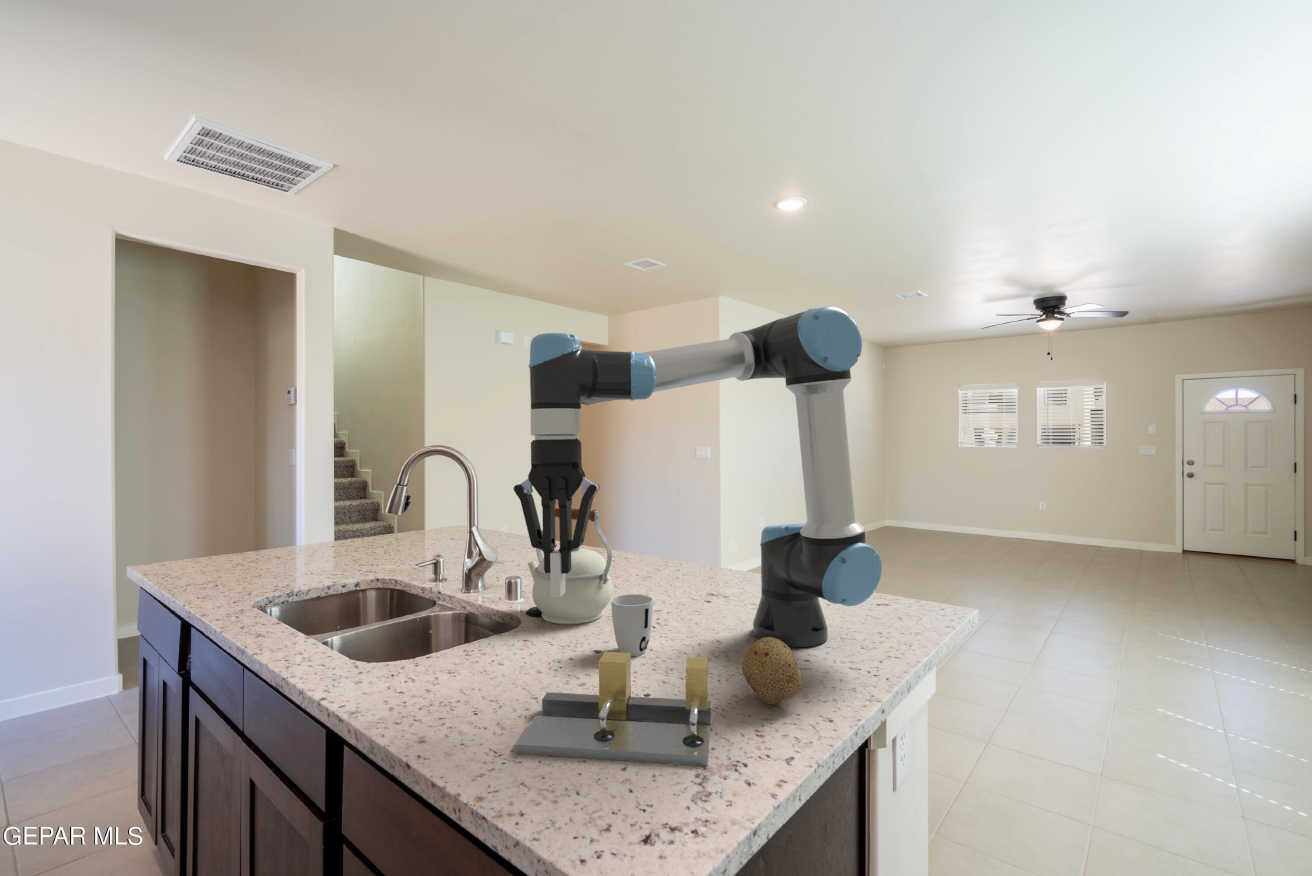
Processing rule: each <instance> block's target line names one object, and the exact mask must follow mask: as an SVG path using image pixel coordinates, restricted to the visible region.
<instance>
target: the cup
mask: <svg viewBox="0 0 1312 876" xmlns="http://www.w3.org/2000/svg"><path fill="white" fill-rule="evenodd" d="M610 602H611V603H610V605H611V615H612V616H611V618H612V626H613V627H612V628H613V630H614V638H615V642H616V644H617V647H618V652H622V653H631V657H638V656H639V657H640V656H641V655H645V653H646V651H647V648H648V644H649V642H650V638H651V637H650V636H651V632H652V625H653V615H654V611H653V609H654V598H653V597H652V596H650V595H645V594H635V593H634V594H633V593H632V594H631V593H630V594H622V595H616V596H614V597H611V599H610Z"/></svg>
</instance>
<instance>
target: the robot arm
mask: <svg viewBox="0 0 1312 876" xmlns="http://www.w3.org/2000/svg"><path fill="white" fill-rule="evenodd" d="M862 340H863V339H862V335H861V332H860V329H859V327H858V325H857V323H856V322H855V320H854V319H853V318H852V317H851V316H849V315H848V313H847V312H846V311H844V310H842V309H840V308H837V307H834V306H823V307H822V306H821V307H815V308H809V309H807V310H804V311H801V312H798V313H796V314H792V315H789V316H787V317H781V318H778V319H776V320H773V321H770V322H768V323H766V324H763V325H760V326H758V327H754V328H751V329H748V330H743V331H737V332H734V333H732V334H731V335H730V336H729V337H728V338H726V339H721V340H720V339H719V340H715V341H714V340H713V341H708V342H702V343H694V344H688V345H683V346H676V347H669V348H664V349H657V350H651V351H644V352H634V351H632V350H631V351H616V350H615V351H613V350H612V351H611V350H610V351H609V350H606V351H605V350H591V349H588V350H587V349H586V348H582V345H581V339H580V338H579V337H578V335H576V334H570V333H566V332H565V333H564V332H547V333H546V332H545V333H540V334H539V333H538V334H537V335H535V336H534V337H532V339H531V341H530V347H529V348H530V350H529V364H528V368H529V386H530V387H529V388H530V389H529V390H530V391H529V393H530V410H529V412H530V435H531V437H534V440H533V439H532V441H531V442H530V465H531V466H530V467H531V468H530V470H529V473H528V475H527V477H528V478H526V480H524V481H522V482H521V483H519V484H515V485H514V487H513V491H514V493H515V495H516V497H518V499H519V500H520V503H521V508H522V512H523V517H524V520H525V525H526V529H527V533H528V537H529V543H530V546H531V547H532V548H534V549H536V548H538V549H541V552H542V553H543V558H544V571H545V573H550V579H551V597H561V596H562V595H563V594H564V593H565V574H568V573H569V572H570V571H571V551H572V550H573V549H576V548H578V547H579V548H580V547H581V546H582V545H583V544H584V542H585V541H584V540H585V537H586V533H587V529H588V525H589V524H588V523H589V515H590V511H592V506H593V503H594V502H593V501H594V498H595V497H596V495H597V494H598V491H599V490H600V484H598V483H594V482H592V481H590V480H589V479H588V478H587V477H586V473H585V472H584V470H583V467H582V466H583V465H582V463H583V462H582V460H583V458H582V441H581V439H578V436H580V435H582V405H585V406H589V405H594V404H597V403H598V404H599V403H605V402H611V401H618V400H622V401H623V400H625V401H626V400H627V401H628V400H629V401H635V400H636V401H637V400H647V399H649V398H650V397H651V396H652V394H653V393H654V392H655V393H656V392H662V391H666V390H667V391H668V390H671V389H678V388H683V387H690V386H694V385H699V384H704V383H710V382H716V381H721V380H726V379H731V378H735V379H736V380H737V381H741V382H742V381H743V382H744V381H749V380H755V379H756V380H757V379H784V380H785V381H784V382H785V387H786V389H788V390H789V391H790V392H791V393H792V394H793V395H794V396H795V404H796V405H795V406H796V416H797V427H798V438H799V447H800V448H799V449H800V456H801V467H802V468H801V469H802V478H803V480H802V481H803V488H804V489H803V490H804V501H805V502H804V503H805V509H806V510H805V511H806V523H792V524H789V523H788V524H787V523H786V524H776V525H775V524H774V525H768V526H765V527H764V528H762V531H761V536H760V537H761V538H760V562H761V563H760V565H761V566H760V567H761V568H760V569H761V571H760V572H761V573H760V574H761V576H760V577H761V578H760V579H761V581H760V582H761V597H760V600H759V603H758V606H757V609H756V613H755V616H754V618H753V622H752V633H753V636H754V637H755V638H756V639H758V640H759V639H762V638H765V637H772V638H776V639H779V640H781V641H782V642H784V643H785V644H786V645H787V646H788V647H789V648H790V647H791V648H805V647H807V648H808V647H815V646H818V645H821V644H824V643H825V642H826V641H827V640H828V637H829V633H828V632H829V631H828V629H829V628H828V625H827V621H826V618H825V615H824V612H823V609H822V608H823V607H822V605H821V603H820V599H823V600H825V601H827V602H829V603H830V604H834V605H840V606H841V605H842V606H845V607H853V606H854V607H855V606H858V605H860V604H861V605H862V604H863V603H865V602H867V601H868V600H869V598H871V597H872V595H873V594H874V591H876V589H877V587H878V586H879V584H880V582H881V577H882V572H883V564H882V558H881V556H880V554H879V553H878V551H876V550H875V548H874V547H872V545H869V543H867V541H866V533H865V530H866V529H865V527H864V526H863V525H862V524H861V523H860V522H858V521H857V519H856V516H855V506H854V504H855V503H854V496H853V492H854V491H853V481H852V473H851V461H850V451H849V450H850V448H849V439H848V438H849V437H848V429H847V428H848V427H847V418H846V405H845V395H844V391H845V388H846V387H847V386H848V384H850V383H851V382H852V376H851V369H852V368H853V367H854V366H855V365H856V364H857V363H858V361H859V359H858V358H859V357H860V356H861V355H862V350H863V341H862ZM580 487H581V494H582V496H581V500H580V503H579V504H580V505H579V507H578V509H579V513H578V517H577V520H576V522H575V527H574V531H573V527H572V524H573V521H572V520H573V519H572V514H571V508H572V504H573V496H575V494H576V493H577V491H578V489H579V488H580ZM533 488H534V489H533ZM534 490H535V491H536V492H537V494H538V495H539V497H540V500H541V503H540V504H541V508H542V528H541V523H540V519H539V516H538V515H539V514H538V510H537V507H536V503H535V500H534V496H533V492H534ZM556 503H557V504H558V505H557V504H556ZM556 505H557V506H558V508H559V517H558V520H559V521H558V522H559V549H556V547H557V546H558V545H557V544H556V517H555V508H556ZM542 530H543V535H542ZM572 531H573V532H574V533H573V532H572ZM572 534H573V535H572ZM572 538H573V540H572Z"/></svg>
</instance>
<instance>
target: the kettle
mask: <svg viewBox="0 0 1312 876" xmlns="http://www.w3.org/2000/svg"><path fill="white" fill-rule="evenodd" d="M578 513H579V508H572V507H571V514H572V520H574V521H575V520H576V521H577V517H578ZM555 518H559V507H555ZM589 520H590V521H591V522H594V529H595V531H596V533H597V535H598V536H599V538H600V539H601V542H602V544H603V545H604V547H605V549H606V553H607V558H606V559H605V558H604V557H603V555H601V554H600V553H598V552H597V551H594V550H590V549H588V548H587V549H586V548H580V547H578V548H576V549H573V550H572V551H571V571H570V572H569V573H568V574H565V593H564V594H563V595H562V596H561V597H551V579H550V573H545V571H544V556H543V554H542V553H543V552H542V550H541V549H538V548H535V550H536V551H535V552H536V556H537V560H538V564H537V562H536V561H535V560H533V561H532V560H531V561H527V566H528V570H529V571H530V575H531V577H532V579H533V585H532V592H531V593H532V600H533V601H532V602H533V603H534V605H535V606H536V607H537V609H538V610H539V611H540V612H541V618H542V619H543V620H545V621H547V622H548V623H553V624H557V625H580V624H587V623H591V622H595V621H597V620H598V619H600V618H601V617H603V615H604V610H605V608H606V607H607V606H608V605H609V603H610V602H611V599H612V598H613V586H612V585H613V584H612V580H611V576H610V572H611V569H612V568H611V564H612V559H613V551H612V547H611V545H610V542H609V541H608V539H607V537H606V536H605V534H604V533H603V531H602V530H601V526H600V511H599V510H596V509H591V511H590V515H589ZM589 520H588V521H589ZM541 531H542V535H543V529H541ZM572 540H573V537H572Z"/></svg>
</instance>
